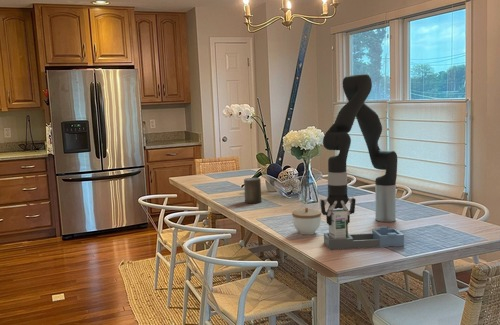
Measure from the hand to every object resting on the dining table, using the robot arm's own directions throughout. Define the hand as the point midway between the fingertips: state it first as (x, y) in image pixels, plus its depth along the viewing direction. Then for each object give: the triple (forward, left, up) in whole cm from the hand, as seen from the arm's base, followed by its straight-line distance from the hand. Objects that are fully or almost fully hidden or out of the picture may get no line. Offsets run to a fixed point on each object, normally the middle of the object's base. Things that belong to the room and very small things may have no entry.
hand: (338, 224), depth 188 cm
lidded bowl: (-21, -9, -9) cm, 25 cm away
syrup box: (0, 0, -9) cm, 9 cm away
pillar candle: (-89, -29, -9) cm, 94 cm away
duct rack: (0, +10, -9) cm, 13 cm away
